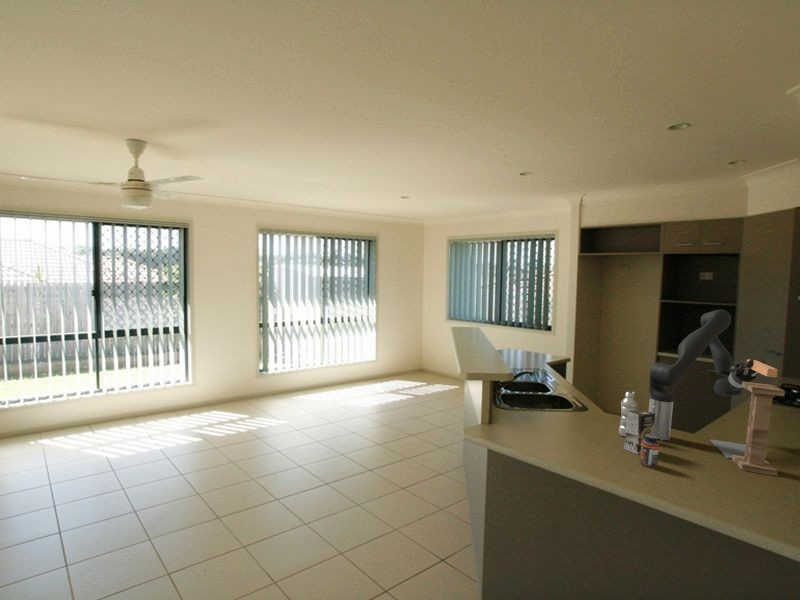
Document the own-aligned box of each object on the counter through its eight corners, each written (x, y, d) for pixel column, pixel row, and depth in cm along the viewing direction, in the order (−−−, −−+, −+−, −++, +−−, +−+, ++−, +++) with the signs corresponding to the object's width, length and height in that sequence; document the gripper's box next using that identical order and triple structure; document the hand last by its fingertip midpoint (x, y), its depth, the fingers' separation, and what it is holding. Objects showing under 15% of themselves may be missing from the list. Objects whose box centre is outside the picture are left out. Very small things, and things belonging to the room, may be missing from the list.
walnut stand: (777, 476, 172) (787, 391, 170) (742, 470, 176) (751, 387, 174) (764, 464, 183) (773, 384, 180) (732, 459, 186) (740, 381, 184)
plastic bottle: (636, 440, 202) (641, 395, 201) (620, 438, 204) (624, 393, 202) (632, 435, 209) (636, 391, 207) (616, 433, 210) (620, 389, 209)
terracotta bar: (776, 377, 170) (777, 369, 170) (766, 376, 171) (767, 368, 171) (755, 367, 189) (755, 360, 189) (746, 366, 190) (747, 359, 190)
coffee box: (637, 455, 185) (641, 415, 184) (623, 449, 191) (627, 410, 190) (652, 452, 189) (656, 413, 188) (637, 446, 195) (641, 408, 194)
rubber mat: (768, 465, 183) (768, 463, 182) (727, 458, 187) (727, 457, 187) (747, 445, 203) (747, 444, 203) (710, 440, 208) (710, 439, 208)
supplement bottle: (636, 461, 178) (638, 432, 177) (650, 461, 179) (653, 433, 178) (645, 468, 172) (648, 438, 171) (660, 468, 173) (663, 438, 172)
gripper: (721, 366, 201) (736, 351, 187) (760, 370, 197) (778, 355, 182) (723, 382, 198) (737, 369, 184) (762, 387, 194) (780, 373, 179)
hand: (757, 362), depth 183 cm, fingers closed on terracotta bar, 3 cm apart
